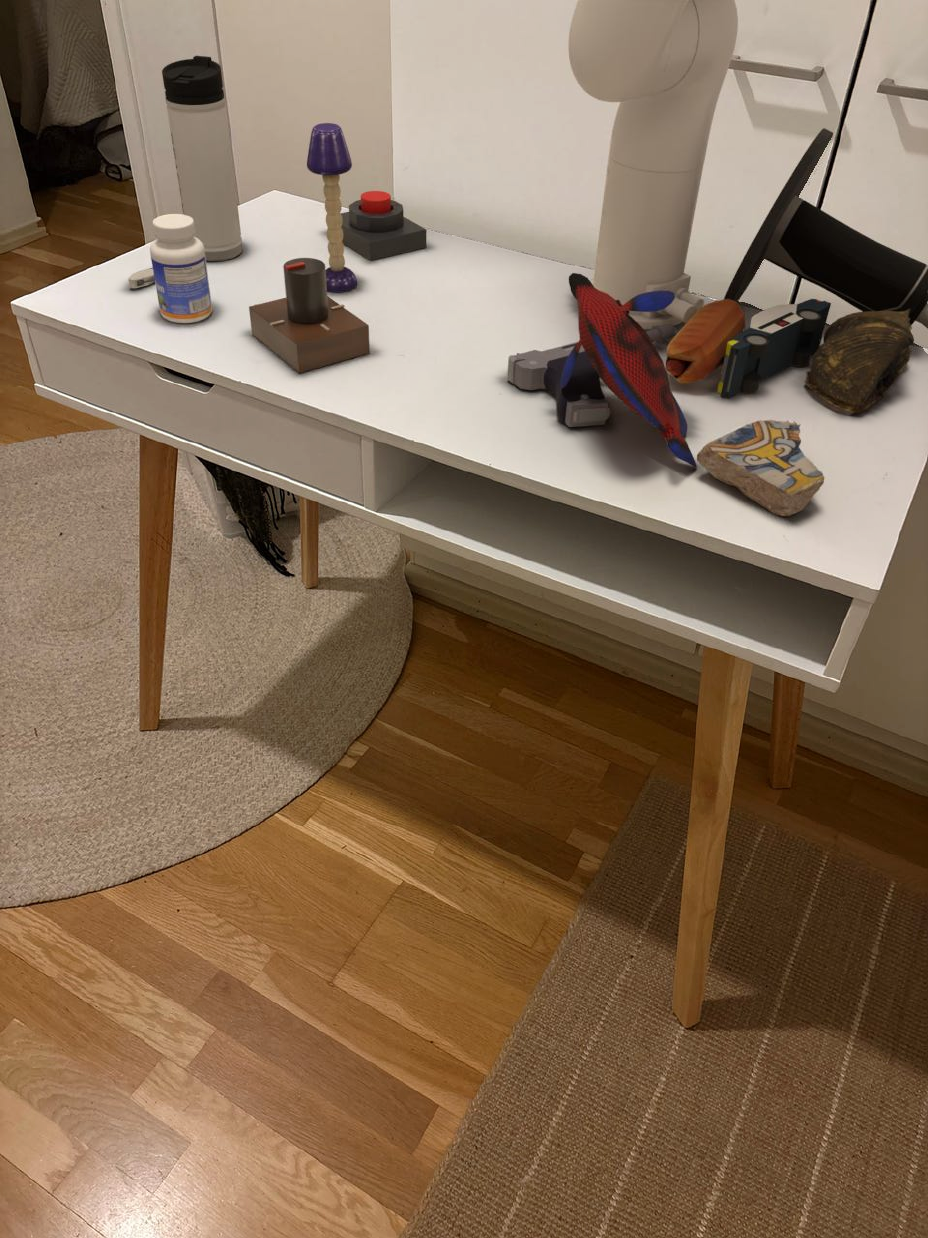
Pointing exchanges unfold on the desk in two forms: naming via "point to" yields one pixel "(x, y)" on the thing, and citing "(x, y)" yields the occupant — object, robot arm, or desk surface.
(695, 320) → the hot dog
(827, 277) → the black flanged spool
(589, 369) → the handgun
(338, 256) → the toy lamp
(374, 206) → the button
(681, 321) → the robot arm
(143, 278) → the oval pebble
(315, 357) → the dimmer panel
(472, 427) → the desk surface
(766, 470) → the ceramic tile fragment
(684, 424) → the fish
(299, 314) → the dimmer knob
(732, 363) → the toy car
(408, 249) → the switch block
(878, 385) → the seashell
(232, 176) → the travel mug
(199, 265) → the pill bottle
